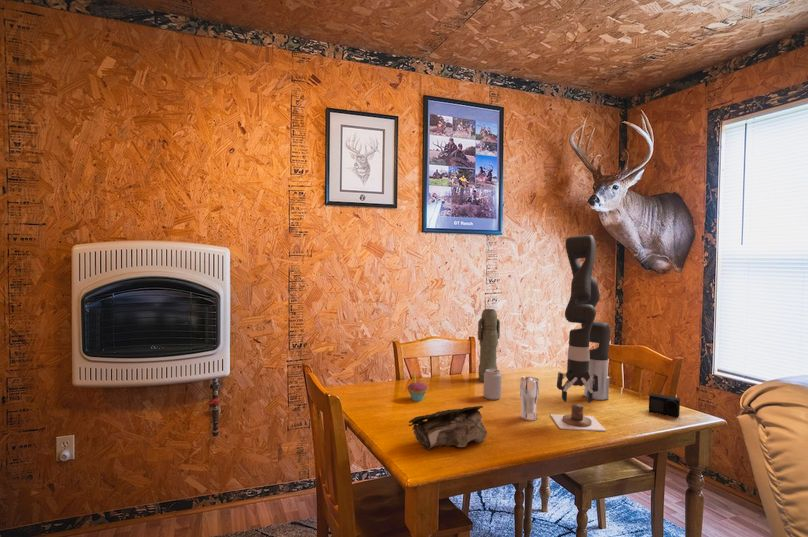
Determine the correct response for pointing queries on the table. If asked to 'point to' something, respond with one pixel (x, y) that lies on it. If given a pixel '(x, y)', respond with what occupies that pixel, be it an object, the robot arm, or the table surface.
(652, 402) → the digital camera
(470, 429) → the hollow geode rock
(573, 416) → the walnut lid
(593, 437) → the table surface
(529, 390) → the beer glass
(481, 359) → the green statue
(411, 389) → the cupcake
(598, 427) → the white mat
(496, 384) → the can
